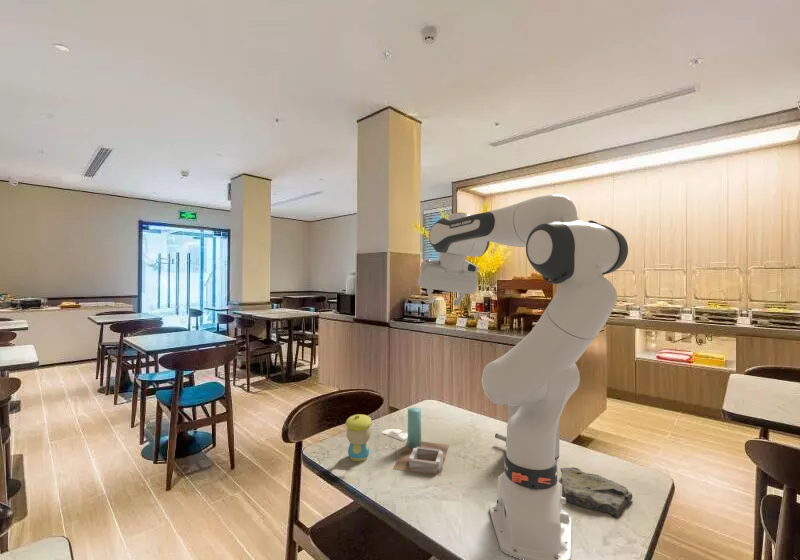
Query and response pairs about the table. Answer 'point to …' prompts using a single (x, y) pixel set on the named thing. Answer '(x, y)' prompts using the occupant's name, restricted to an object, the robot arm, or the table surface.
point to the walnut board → (423, 458)
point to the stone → (594, 491)
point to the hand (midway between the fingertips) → (443, 304)
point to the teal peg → (414, 428)
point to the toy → (358, 436)
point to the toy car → (396, 434)
